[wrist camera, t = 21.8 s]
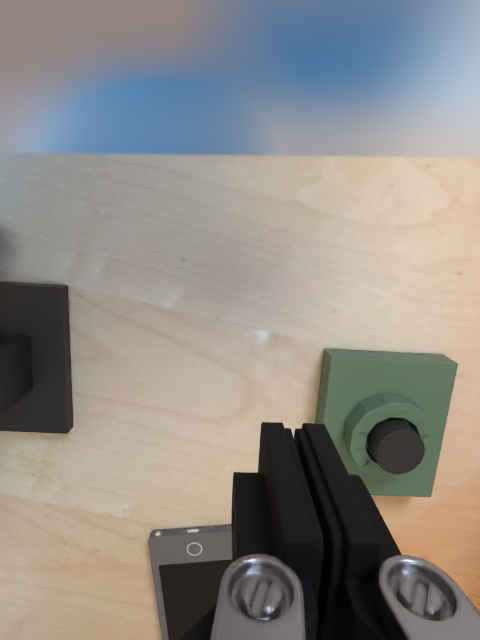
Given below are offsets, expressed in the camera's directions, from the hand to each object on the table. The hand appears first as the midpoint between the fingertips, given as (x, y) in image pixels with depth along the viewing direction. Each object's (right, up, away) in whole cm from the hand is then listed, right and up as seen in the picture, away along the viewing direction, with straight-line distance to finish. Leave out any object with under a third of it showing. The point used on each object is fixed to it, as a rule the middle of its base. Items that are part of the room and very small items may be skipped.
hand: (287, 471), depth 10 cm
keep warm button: (+10, -5, +19) cm, 23 cm away
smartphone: (-5, -22, +27) cm, 35 cm away
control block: (+10, -4, +23) cm, 26 cm away
